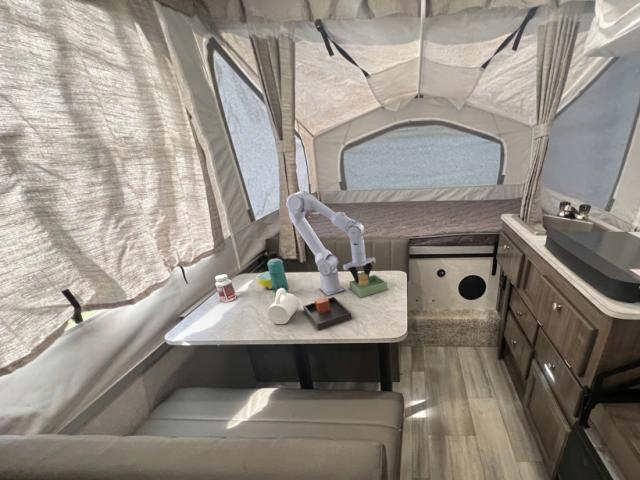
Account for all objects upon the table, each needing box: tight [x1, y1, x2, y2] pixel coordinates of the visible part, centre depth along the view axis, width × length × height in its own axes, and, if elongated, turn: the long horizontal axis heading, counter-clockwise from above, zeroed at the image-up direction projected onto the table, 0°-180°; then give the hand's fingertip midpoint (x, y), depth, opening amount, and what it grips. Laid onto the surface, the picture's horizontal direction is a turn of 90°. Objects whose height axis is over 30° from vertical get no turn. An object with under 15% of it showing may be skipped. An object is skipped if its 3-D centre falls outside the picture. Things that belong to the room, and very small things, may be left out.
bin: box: [349, 274, 388, 298], centre depth 141 cm, size 11×13×4 cm
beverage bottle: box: [266, 251, 290, 295], centre depth 136 cm, size 6×7×20 cm
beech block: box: [356, 271, 369, 286], centre depth 137 cm, size 4×4×4 cm
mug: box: [266, 288, 300, 325], centre depth 119 cm, size 8×10×12 cm
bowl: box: [255, 270, 274, 290], centre depth 147 cm, size 11×12×6 cm
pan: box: [302, 296, 352, 331], centre depth 122 cm, size 17×13×2 cm
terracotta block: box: [314, 296, 331, 313], centre depth 124 cm, size 4×4×4 cm
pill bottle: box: [214, 273, 237, 303], centre depth 137 cm, size 6×6×11 cm
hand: (361, 281), depth 138 cm, fingers closed on beech block, 4 cm apart
